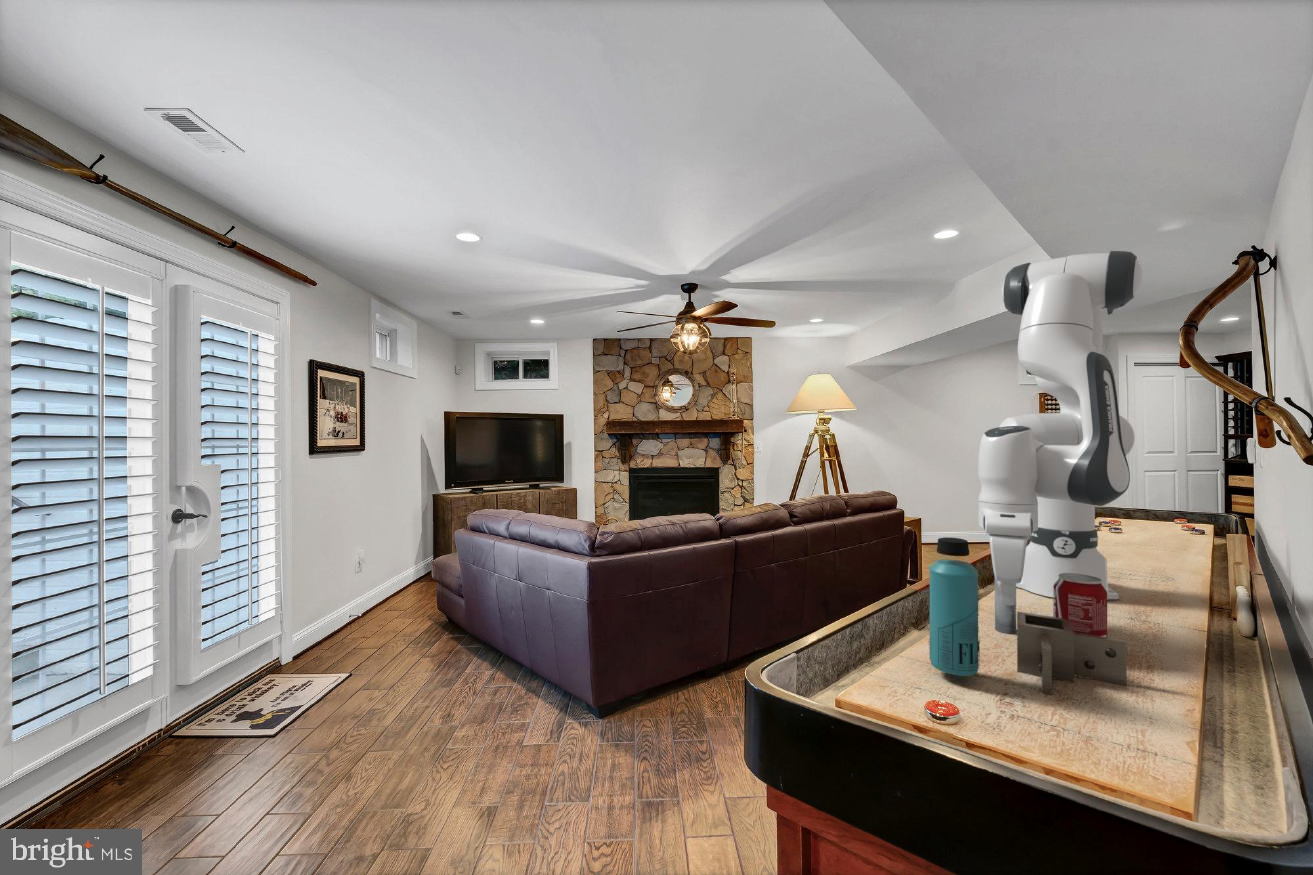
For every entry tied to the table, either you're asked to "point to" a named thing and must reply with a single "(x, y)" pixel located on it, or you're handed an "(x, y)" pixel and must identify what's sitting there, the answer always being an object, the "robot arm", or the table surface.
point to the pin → (1004, 613)
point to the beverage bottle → (954, 611)
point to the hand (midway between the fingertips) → (1008, 596)
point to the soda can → (1081, 603)
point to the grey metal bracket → (1067, 652)
